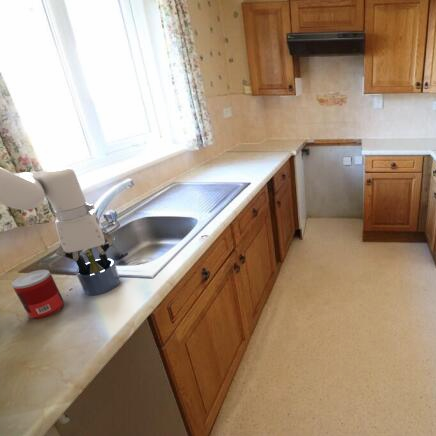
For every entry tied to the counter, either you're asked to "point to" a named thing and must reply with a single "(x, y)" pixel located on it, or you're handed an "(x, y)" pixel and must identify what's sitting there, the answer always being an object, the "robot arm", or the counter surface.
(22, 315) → the counter surface
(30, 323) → the counter surface
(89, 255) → the fennel bulb
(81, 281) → the crock
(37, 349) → the counter surface
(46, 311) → the canned food
